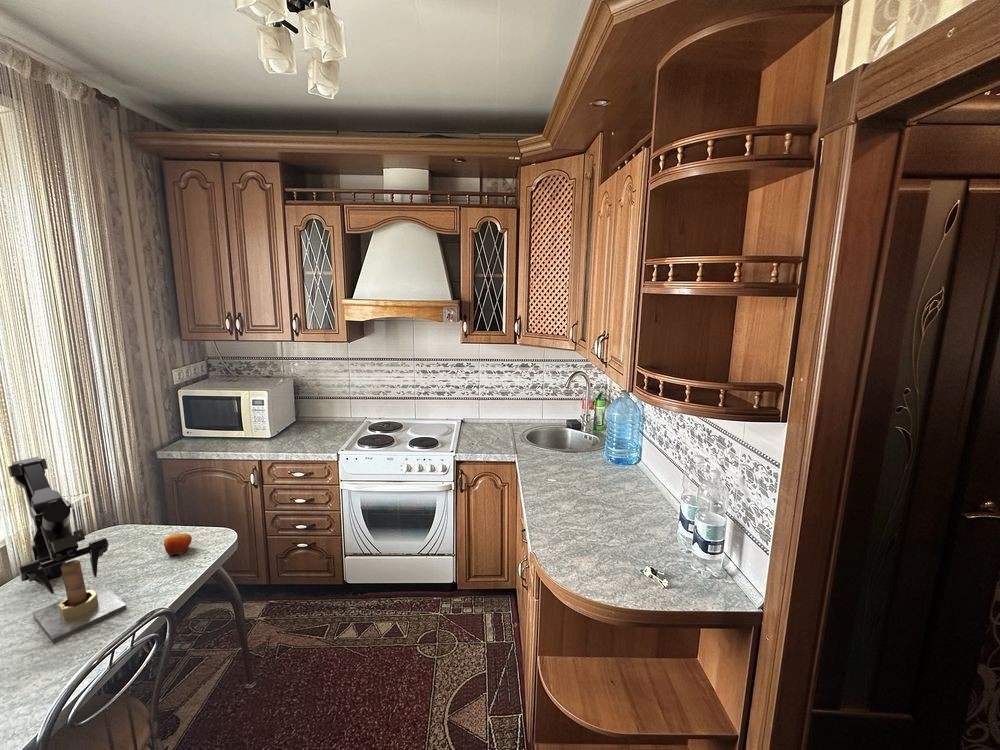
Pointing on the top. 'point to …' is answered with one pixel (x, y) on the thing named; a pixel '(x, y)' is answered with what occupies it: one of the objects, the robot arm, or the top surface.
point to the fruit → (177, 543)
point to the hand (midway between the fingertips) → (75, 585)
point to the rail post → (74, 582)
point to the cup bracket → (78, 613)
